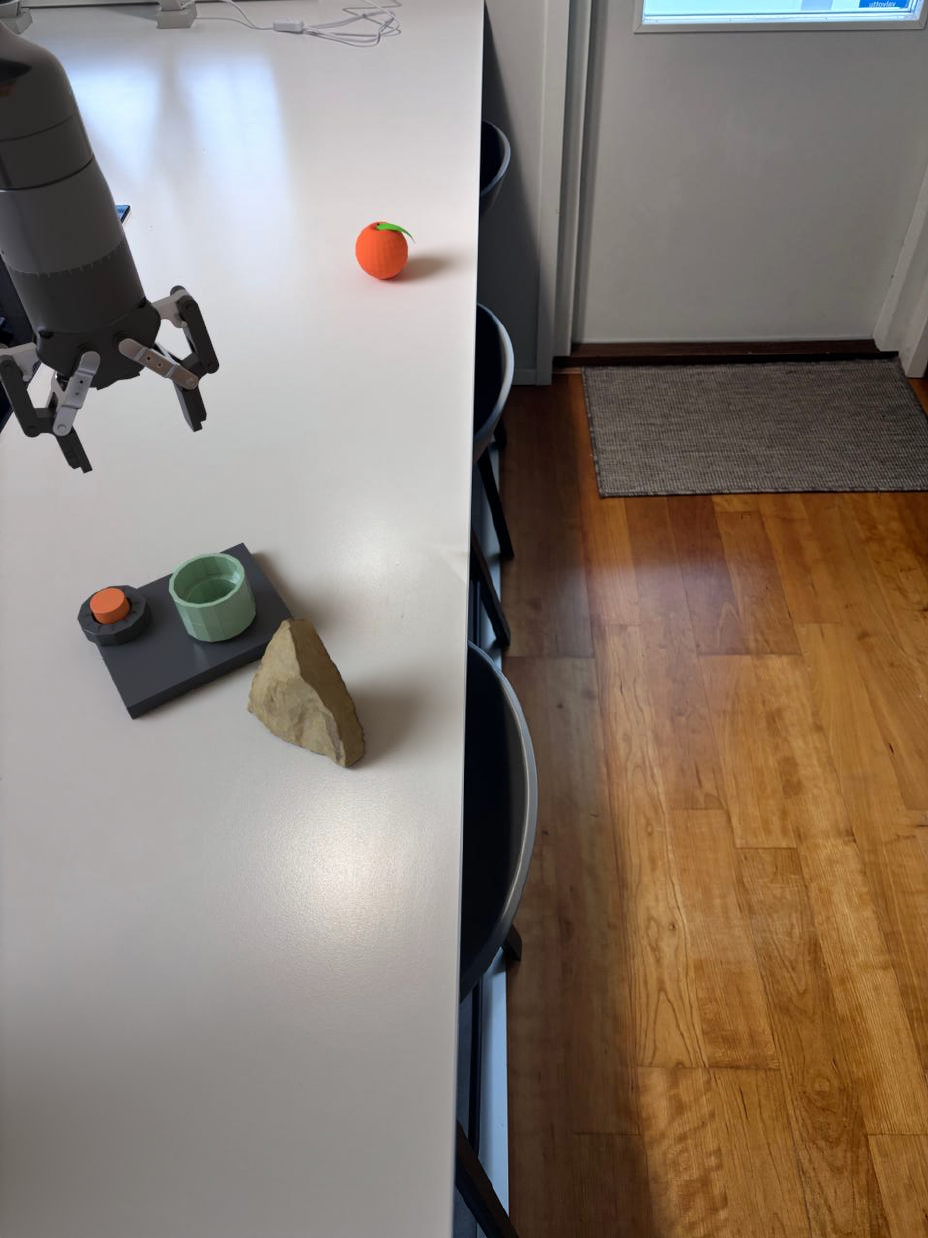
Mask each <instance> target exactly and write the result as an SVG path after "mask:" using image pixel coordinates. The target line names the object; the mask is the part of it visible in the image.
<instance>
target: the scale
mask: <svg viewBox="0 0 928 1238" xmlns="http://www.w3.org/2000/svg"><path fill="white" fill-rule="evenodd" d="M219 553H221V554H228V555H230V556H232V557H234V558H236V559H237V560H239V562H240V563H241V565H242V566H243V568H244V570H245V573H246V576H247V579H248V582H249V585H250V588H251V591H252V594H253V597H254V600H255V603H256V614H255V616H254V618H253V620H252V622H251V624H250V625H249V626H248V627H247V628H246V629H245V630H244V631H242V632H241V633H240V634H238V635H236V636H234V637H232V638H230V639H226V640H221V641H215V642H208V641H202V640H198V639H196V638H195V637H193V636H192V635H190V634H189V633H188V632H187V630H186V629H185V627H184V625H183V623H182V620H181V618H180V615H179V613H178V611H177V608H176V606H175V604H174V601H173V599H172V597H171V594H170V592H169V583H170V579H171V577H172V575H173V574H174V572H172V573H169V574H167V575H165V576H162V577H160V578H158V579H155V580H153V581H150V582H149V583H146V584H144V585H142V586H139V587H137V588H136V587H133V586H131V585H130V584H124V585H109V586H107V587H105V588H103V589H99V590H98V591H97V590H96V591H95V592H94V593H92V594H91V595H90V596H88V598H87V599H86V600H84V601H83V603H82V604H81V605H80V608H79V611H78V614H77V618H76V620H77V622H78V624H79V627H80V628H81V630H82V632H83V634H84V635H85V638H86V639H87V641H88V642H90V643H93V644H95V646H96V648H97V649H98V651H99V654H100V656H101V658H102V660H103V663H104V664H105V666H106V668H107V671H108V673H109V675H110V677H111V679H112V682H113V684H114V686H115V688H116V690H117V693H118V694H119V696H120V698H121V701H122V703H123V704H124V707H125V709H126V710H127V713H128V715H129V716H130V718H131V720H134V719H137V718H138V717H140V716H143V715H145V714H147V713H149V712H151V711H153V710H155V709H158V708H159V707H162V706H163V705H165V704H167V703H170V702H172V701H174V700H176V699H178V698H180V697H182V696H184V695H186V694H189V693H190V692H192V691H195V690H197V689H199V688H201V687H203V686H205V685H207V684H209V683H212V682H213V681H216V680H219V678H222V677H224V676H226V675H229V674H230V673H232V672H234V671H236V670H239V669H241V668H243V667H245V666H246V665H249V664H251V663H253V662H255V661H257V660H259V659H262V658H263V656H264V655H265V652H266V649H267V647H268V644H269V643H270V641H271V640H272V639H273V636H274V634H275V633H276V632H277V631H278V629H279V628H280V626H281V623H282V622H283V621H284V620H286V619H288V618H295V616H294V615H293V613H292V612H291V611H290V609H289V607H288V606H287V604H286V603H285V602H284V600H283V599H282V597H281V595H280V594H279V593H278V591H277V590H276V588H275V586H274V585H273V584H272V583H271V581H270V579H269V578H268V577H267V575H266V573H265V572H264V570H263V569H262V568H261V567H260V565H259V564H258V562H257V561H256V559H255V557H254V556H253V554H252V553H251V552H250V550H249V549H248V547H247V546H246V544H245V543H244V542H240V543H238V544H235V545H234V546H231V547H229V548H227V549H224V550H222V551H220V552H219ZM108 588H116V589H119V590H121V591H122V592H123V593H124V595H125V597H126V599H127V601H128V603H129V606H130V611H129V613H128V615H127V616H126V617H125V618H124V619H123V620H121V621H119V622H117V623H114V624H103V623H100V622H99V621H98V620H97V619H96V617H95V615H94V613H93V611H92V609H91V607H90V602H91V599H92V598H93V596H94V595H95V594H97V593H98V592H100V591H102V590H104V589H108Z"/></svg>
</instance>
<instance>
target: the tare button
mask: <svg viewBox="0 0 928 1238" xmlns="http://www.w3.org/2000/svg"><path fill="white" fill-rule="evenodd" d="M103 589H104V588H103ZM101 590H102V589H101ZM99 591H100V590H99ZM90 607H91V609H92V611H93V613H94V615H95V617H96V619H97V620H98V621H99V622H100V623H103V624H114V623H117V622H119V621H121V620H123V619H124V618H125V617H126V616H127V615H128V613H129V611H130V606H129V603H128V601H127V599H126V597H125V595H124V593H123V592H122V591H121V590H119V589H116V588H108V589H104V590H102V591H100V592H98V593H97V594H95V595H94V596H93V598H92V599H91V602H90Z"/></svg>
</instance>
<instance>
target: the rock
mask: <svg viewBox="0 0 928 1238" xmlns="http://www.w3.org/2000/svg"><path fill="white" fill-rule="evenodd" d="M248 699H249V700H248V702H247V708H246V710H247V712H249V713H253V714H254V716H256V717H257V718H258V720H259V721H261V722H262V724H263V726H264V727H265V728H267V730H268V731H269V733H270V734H272V735H274V736H277V737H279V738H281V739H282V740H284V741H285V742H287V743H291V744H293V745H295V746H298V747H303V748H305V749H308V751H310V752H312V753H315V754H318V755H319V754H320V755H324V756H326V757H328V759H330V760H331V761H333V762H334V763H335V764H336V765H337V766H339V767H343V768H345V769H347V768H348V767H351V765H352V764H354V763H355V762H357V761H358V760H359V759H361V758H362V757H363V756H364V755H365V754H366V752H367V741H366V739H365V734H366V733H365V729H364V727H363V724H362V723H361V720H360V716H359V714H358V713H357V707H356V704H355V702H354V699H353V698H352V696H351V694H350V692H349V690H348V688H347V685H346V682H345V681H344V679H343V676H342V674H341V672H340V669H339V668H338V666H337V664H336V663H335V662H334V661H333V659H332V657H331V655H330V653H329V652H328V650H327V648H326V647H325V643H324V642H323V640H322V639H321V637H320V635H319V633H318V632H317V630H316V628H315V626H314V625H313V624H312V623H311V622H310V620H308V619H307V618H303V617H294V618H288V619H286V620H284V621H283V622H282V623H281V626H280V628H279V629H278V631H277V632H276V633H275V634H274V636H273V639H272V640H271V641H270V643H269V644H268V647H267V649H266V652H265V655H264V656H263V657H261V663H260V665H259V667H258V669H257V670H256V671H255V673H254V675H253V678H252V680H251V684H250V690H249V693H248Z"/></svg>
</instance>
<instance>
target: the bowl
mask: <svg viewBox="0 0 928 1238" xmlns="http://www.w3.org/2000/svg"><path fill="white" fill-rule="evenodd" d="M173 573H174V574H173V575H172V577H171V579H170V583H169V592H170V594H171V597H172V599H173V601H174V604H175V606H176V608H177V611H178V613H179V615H180V618H181V620H182V623H183V625H184V627H185V629H186V630H187V632H188V633H189V634H190V635H192V636H193V637H195V638H196V639H198V640H202V641H208V642H215V641H221V640H226V639H230V638H232V637H234V636H236V635H238V634H240V633H241V632H242V631H244V630H245V629H246V628H247V627H248V626H249V625H250V624H251V622H252V620H253V618H254V616H255V614H256V603H255V600H254V597H253V594H252V591H251V588H250V585H249V582H248V579H247V576H246V573H245V570H244V568H243V566H242V565H241V563H240V562H239V560H237V559H236V558H234V557H232V556H230V555H228V554H221V553H220V552H211V553H204V554H199V555H197V556H194V557H192V558H190V559H188V560H186V561H185V562H183V563H182V564H181V565H179V566H178V567H177V568H176V569H175V571H173Z"/></svg>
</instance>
